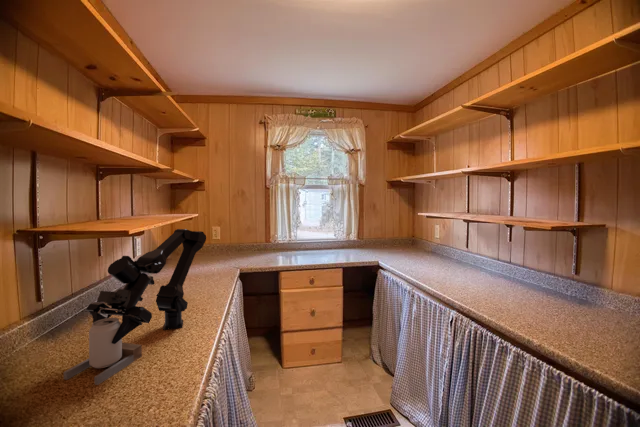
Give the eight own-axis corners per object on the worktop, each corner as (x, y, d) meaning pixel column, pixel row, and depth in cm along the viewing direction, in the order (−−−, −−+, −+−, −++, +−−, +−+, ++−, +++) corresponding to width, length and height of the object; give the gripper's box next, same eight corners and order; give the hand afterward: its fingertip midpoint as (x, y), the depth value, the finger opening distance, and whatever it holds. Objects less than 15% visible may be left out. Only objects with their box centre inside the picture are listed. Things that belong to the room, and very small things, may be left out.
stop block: (112, 352, 90) (111, 341, 90) (141, 356, 87) (141, 345, 87) (103, 357, 87) (102, 345, 87) (133, 361, 85) (133, 350, 84)
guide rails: (103, 357, 87) (102, 350, 87) (133, 361, 85) (133, 354, 84) (63, 379, 76) (63, 372, 76) (97, 385, 74) (97, 377, 74)
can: (127, 355, 86) (127, 316, 85) (110, 369, 78) (109, 326, 78) (102, 355, 86) (101, 316, 85) (82, 370, 78) (81, 326, 78)
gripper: (90, 276, 87) (51, 328, 76) (143, 280, 83) (109, 335, 73) (115, 293, 95) (82, 342, 85) (164, 297, 91) (136, 349, 81)
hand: (101, 342), depth 80 cm, fingers closed on can, 7 cm apart
